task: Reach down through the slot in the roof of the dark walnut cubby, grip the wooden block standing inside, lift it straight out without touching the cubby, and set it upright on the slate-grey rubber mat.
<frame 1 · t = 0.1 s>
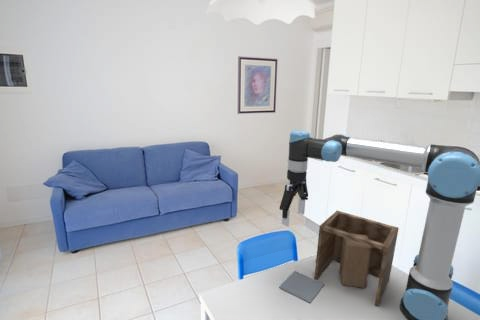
hand: (293, 219, 120), 28 cm above the table, fingers open, 13 cm apart
mat: (301, 286, 122), on the table
wooden block: (351, 280, 127), on the table
cubby: (351, 279, 127), on the table
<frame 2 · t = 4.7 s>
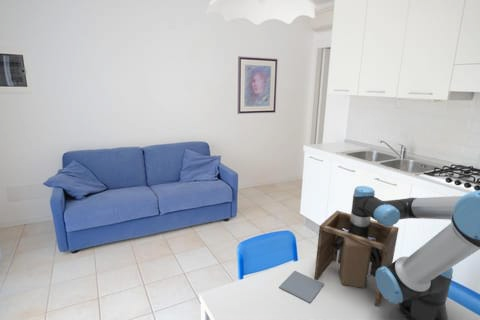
hand: (353, 267, 125), 6 cm above the table, fingers open, 13 cm apart
wooden block: (351, 280, 127), on the table, touching gripper, hand
everything else where it was.
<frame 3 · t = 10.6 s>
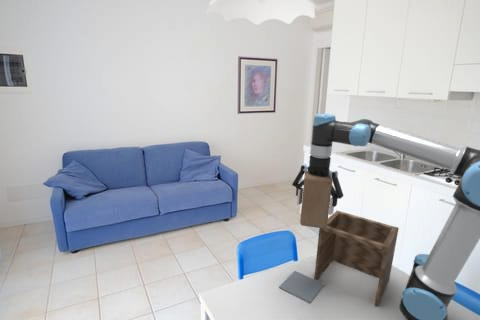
hand: (314, 208, 114), 35 cm above the table, fingers open, 13 cm apart
wooden block: (313, 222, 115), point 29 cm above the table, touching gripper, hand
everything else where it was.
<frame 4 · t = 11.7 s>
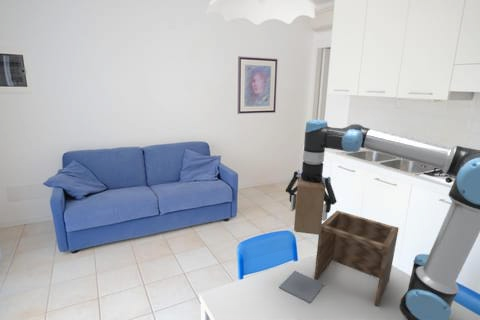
hand: (308, 214, 113), 33 cm above the table, fingers open, 13 cm apart
wooden block: (306, 228, 115), point 27 cm above the table, touching gripper, hand
everything else where it was.
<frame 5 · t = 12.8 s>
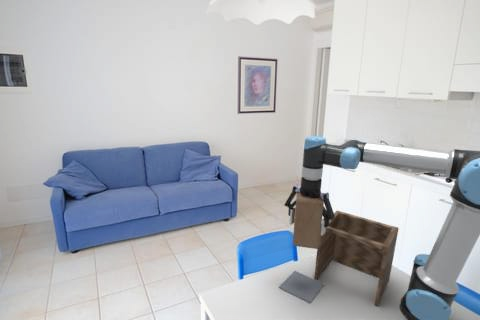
hand: (306, 228, 115), 27 cm above the table, fingers open, 13 cm apart
wooden block: (305, 242, 116), point 21 cm above the table, touching gripper, hand
everything else where it was.
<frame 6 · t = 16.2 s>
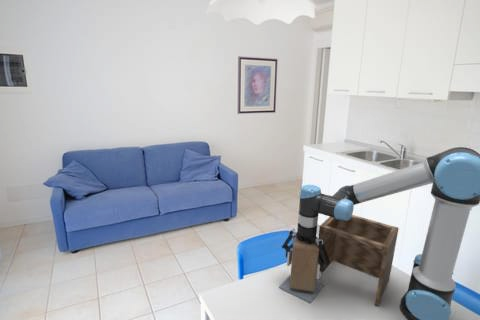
hand: (303, 270, 120), 8 cm above the table, fingers open, 13 cm apart
wooden block: (302, 283, 121), point 1 cm above the table, touching hand
everything else where it was.
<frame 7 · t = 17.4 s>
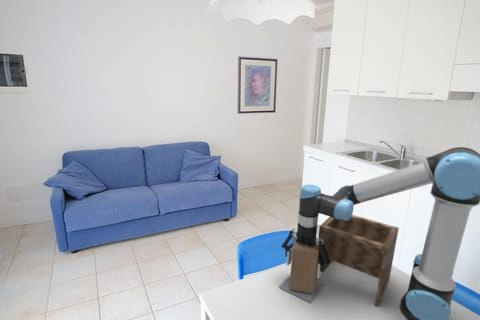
hand: (303, 270, 120), 8 cm above the table, fingers open, 13 cm apart
wooden block: (302, 285, 122), resting on mat
everything else where it was.
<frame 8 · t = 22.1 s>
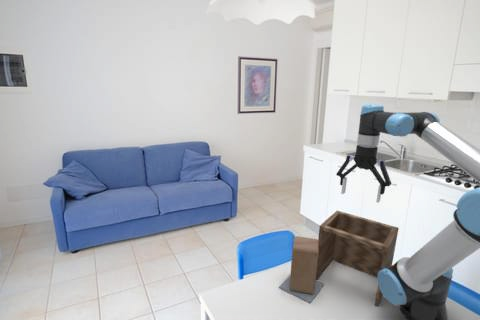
hand: (360, 197, 117), 39 cm above the table, fingers open, 13 cm apart
nothing on the table moved.
at the end: wooden block 0.1 cm from the mat (horizontally); wooden block touching mat; wooden block tilted 0° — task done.
